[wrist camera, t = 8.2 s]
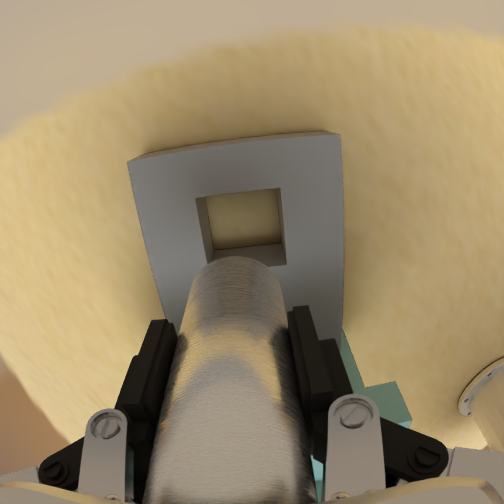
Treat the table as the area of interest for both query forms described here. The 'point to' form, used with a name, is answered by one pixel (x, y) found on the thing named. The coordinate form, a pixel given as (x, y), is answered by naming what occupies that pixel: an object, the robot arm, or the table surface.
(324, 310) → the socket stand
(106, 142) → the table surface
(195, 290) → the peg
